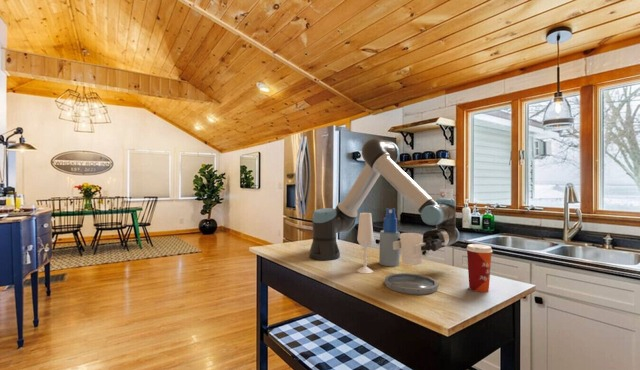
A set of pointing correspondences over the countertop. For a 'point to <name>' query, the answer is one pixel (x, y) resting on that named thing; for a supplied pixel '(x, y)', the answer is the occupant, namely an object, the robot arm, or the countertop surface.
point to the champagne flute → (365, 237)
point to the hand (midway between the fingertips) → (404, 247)
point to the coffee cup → (479, 266)
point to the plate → (411, 283)
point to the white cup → (410, 248)
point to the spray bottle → (389, 240)
